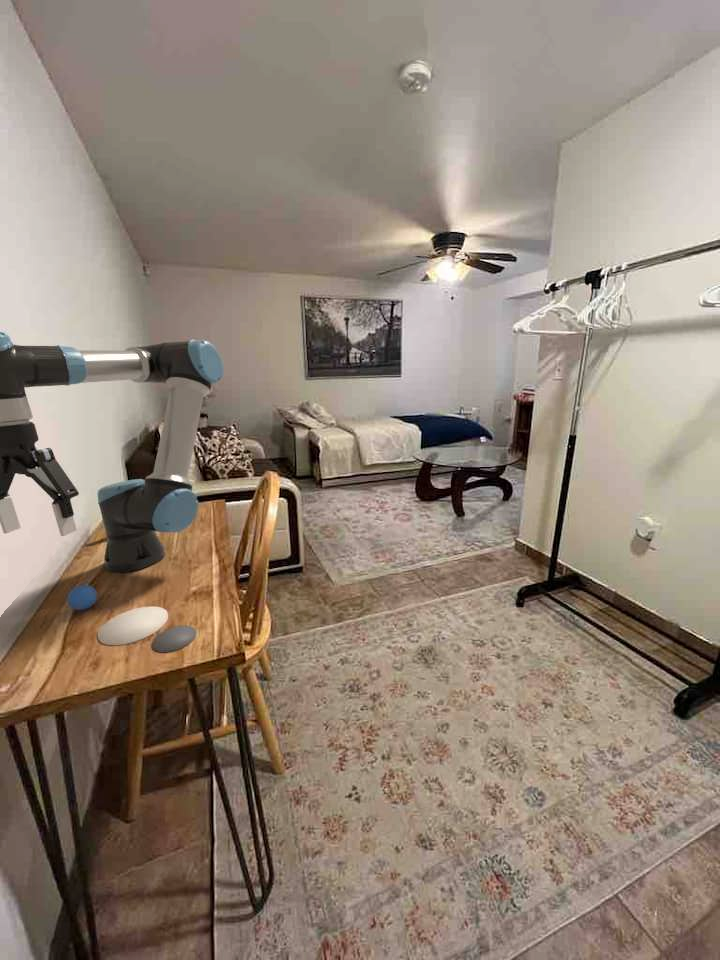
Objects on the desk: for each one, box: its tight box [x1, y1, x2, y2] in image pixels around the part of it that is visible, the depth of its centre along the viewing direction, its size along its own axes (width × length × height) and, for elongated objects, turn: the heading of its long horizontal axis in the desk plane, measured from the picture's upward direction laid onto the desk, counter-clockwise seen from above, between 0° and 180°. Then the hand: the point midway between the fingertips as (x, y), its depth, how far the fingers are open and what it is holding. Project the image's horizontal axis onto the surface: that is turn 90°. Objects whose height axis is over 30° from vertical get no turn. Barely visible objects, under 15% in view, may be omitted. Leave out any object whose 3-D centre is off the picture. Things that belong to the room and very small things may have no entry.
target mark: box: [97, 606, 169, 646], centre depth 82 cm, size 13×13×1 cm
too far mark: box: [151, 624, 197, 653], centre depth 77 cm, size 8×8×1 cm
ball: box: [67, 584, 98, 611], centre depth 89 cm, size 6×6×6 cm
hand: (40, 532), depth 76 cm, fingers open, 13 cm apart
